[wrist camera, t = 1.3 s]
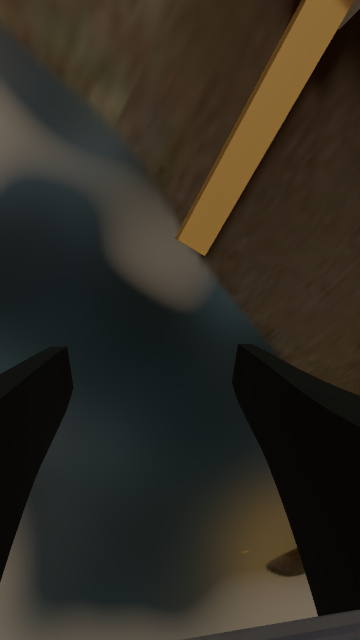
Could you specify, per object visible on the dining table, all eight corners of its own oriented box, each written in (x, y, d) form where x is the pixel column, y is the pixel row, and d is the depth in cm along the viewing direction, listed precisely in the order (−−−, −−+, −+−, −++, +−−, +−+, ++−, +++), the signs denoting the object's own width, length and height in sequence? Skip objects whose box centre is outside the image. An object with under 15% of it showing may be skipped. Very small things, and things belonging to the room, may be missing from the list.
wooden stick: (206, 256, 17) (216, 263, 14) (167, 233, 16) (170, 235, 13) (378, -38, 12) (444, -113, 9) (336, -94, 11) (396, -196, 9)
